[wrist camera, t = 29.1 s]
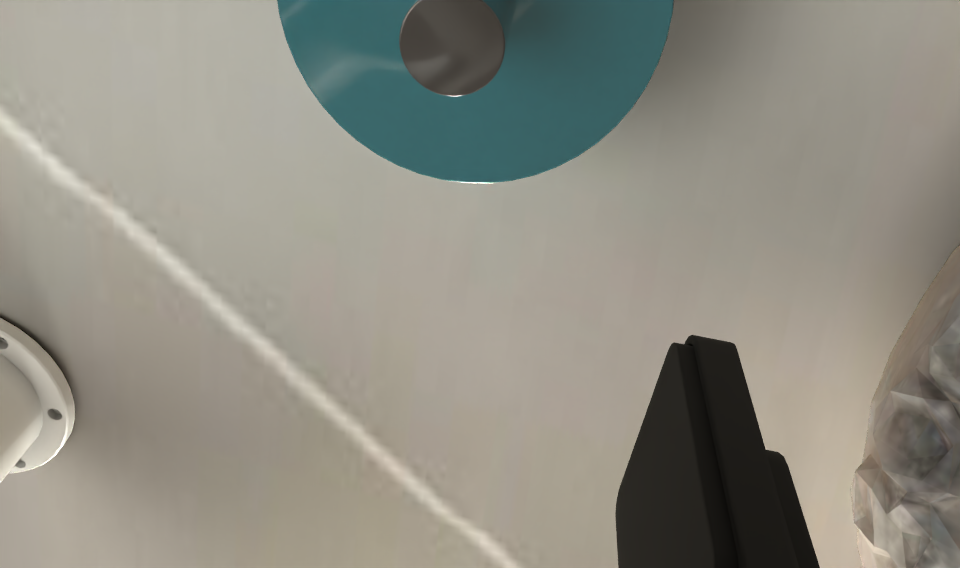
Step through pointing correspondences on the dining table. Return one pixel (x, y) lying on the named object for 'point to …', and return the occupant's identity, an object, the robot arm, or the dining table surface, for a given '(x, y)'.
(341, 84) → the lid
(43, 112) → the dining table surface
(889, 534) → the clay pot
